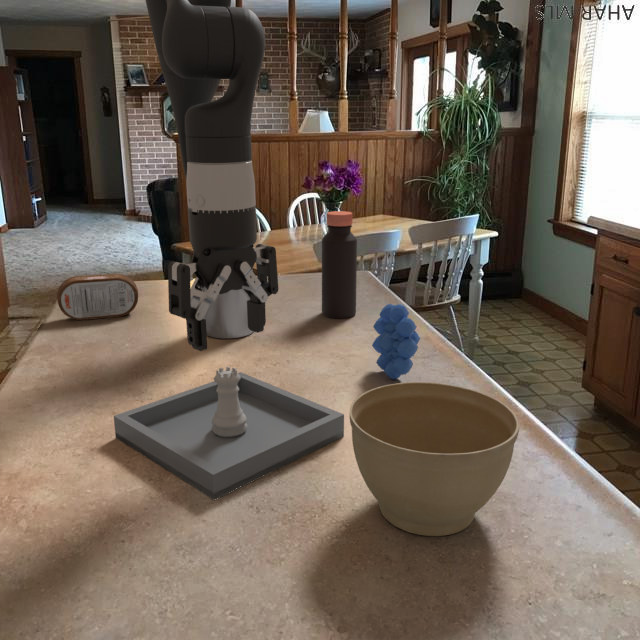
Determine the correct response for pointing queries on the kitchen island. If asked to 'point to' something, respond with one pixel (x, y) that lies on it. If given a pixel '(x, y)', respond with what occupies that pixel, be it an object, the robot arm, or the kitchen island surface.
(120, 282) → the tin
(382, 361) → the grapes
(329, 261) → the bottle
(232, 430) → the rook chess piece
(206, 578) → the kitchen island surface
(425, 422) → the planter bowl
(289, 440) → the tray
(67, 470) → the kitchen island surface
